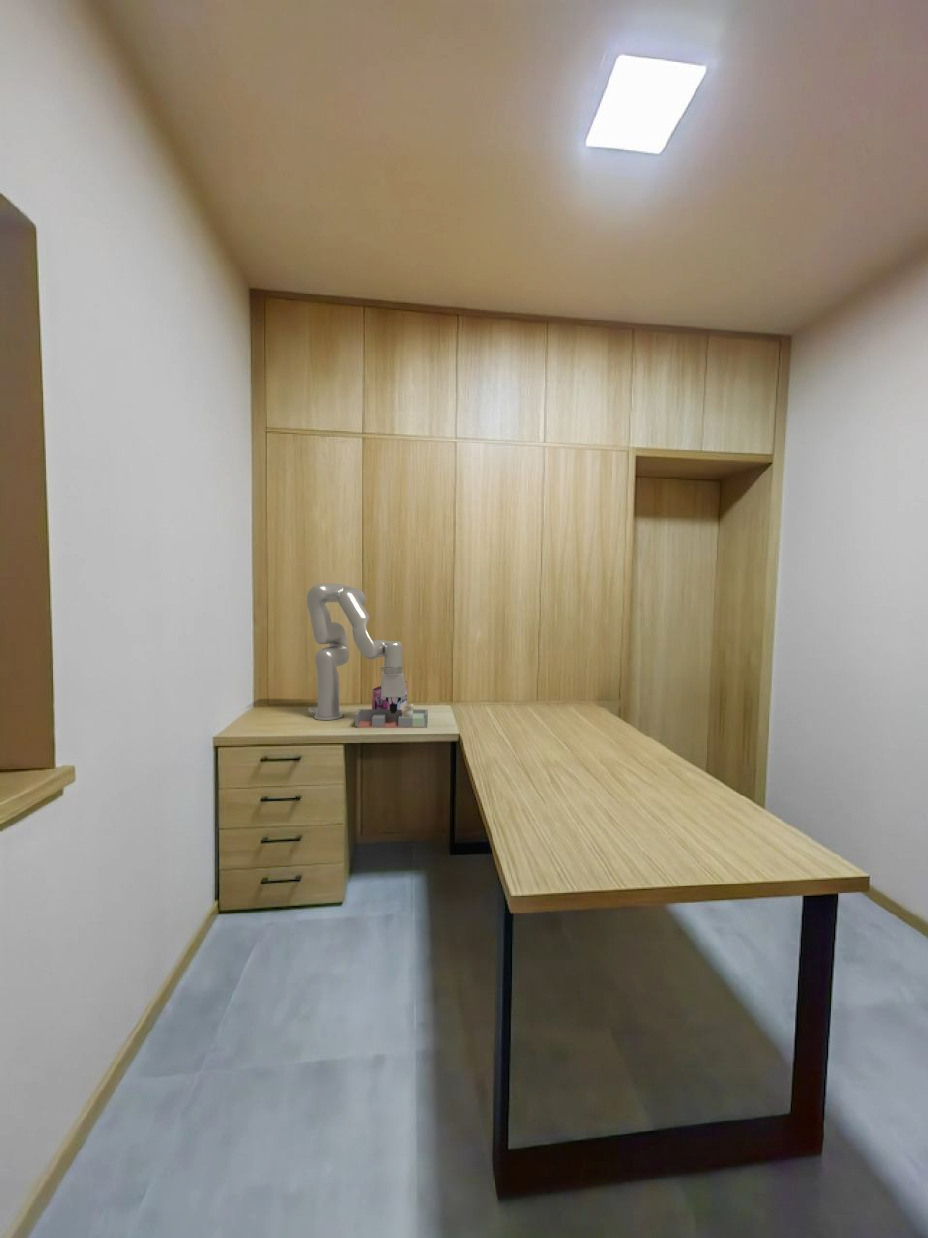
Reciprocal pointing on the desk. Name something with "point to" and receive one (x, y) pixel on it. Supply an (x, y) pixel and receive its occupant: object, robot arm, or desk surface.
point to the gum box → (383, 704)
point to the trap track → (390, 719)
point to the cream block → (407, 710)
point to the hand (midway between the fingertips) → (393, 712)
